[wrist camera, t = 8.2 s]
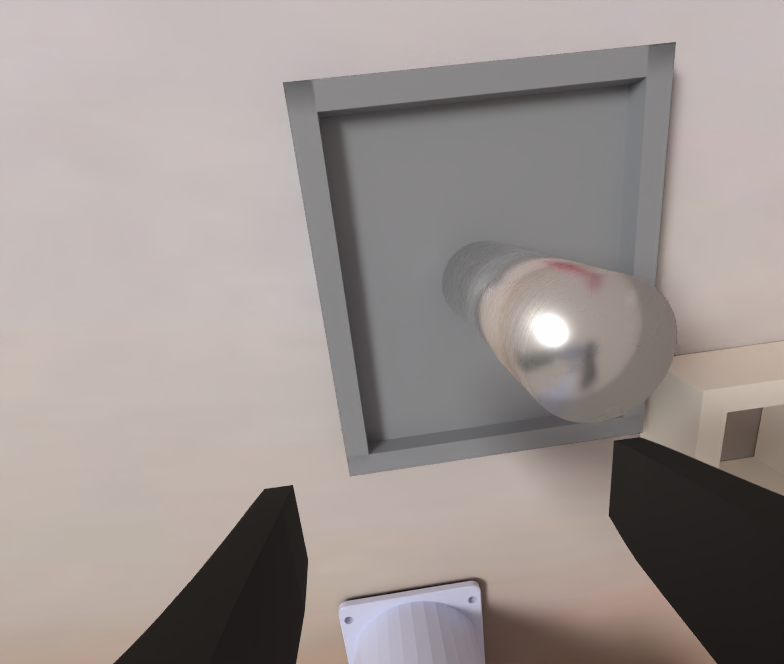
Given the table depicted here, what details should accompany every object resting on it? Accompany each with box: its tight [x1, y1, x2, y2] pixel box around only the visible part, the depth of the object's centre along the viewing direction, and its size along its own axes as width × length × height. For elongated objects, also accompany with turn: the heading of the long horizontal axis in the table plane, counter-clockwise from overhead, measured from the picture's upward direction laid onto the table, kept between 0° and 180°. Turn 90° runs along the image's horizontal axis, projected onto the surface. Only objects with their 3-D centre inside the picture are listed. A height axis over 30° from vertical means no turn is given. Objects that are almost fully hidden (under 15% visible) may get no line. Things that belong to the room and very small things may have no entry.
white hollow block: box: [640, 341, 784, 496], centre depth 20 cm, size 8×8×4 cm
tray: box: [283, 42, 676, 476], centre depth 17 cm, size 16×14×2 cm
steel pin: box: [442, 241, 677, 423], centre depth 13 cm, size 4×4×9 cm
